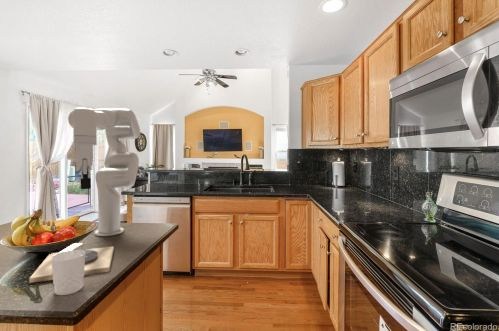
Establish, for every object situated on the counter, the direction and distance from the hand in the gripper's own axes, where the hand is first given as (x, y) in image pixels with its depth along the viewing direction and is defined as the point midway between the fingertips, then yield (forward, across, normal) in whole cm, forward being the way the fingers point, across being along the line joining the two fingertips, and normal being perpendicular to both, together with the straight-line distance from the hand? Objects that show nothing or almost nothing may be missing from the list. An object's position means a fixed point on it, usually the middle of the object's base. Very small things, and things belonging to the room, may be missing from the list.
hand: (85, 188), depth 102 cm
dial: (+23, +12, -3) cm, 26 cm away
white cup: (+25, +30, -3) cm, 39 cm away
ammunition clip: (+25, -10, -15) cm, 31 cm away
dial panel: (+25, +11, -2) cm, 27 cm away
